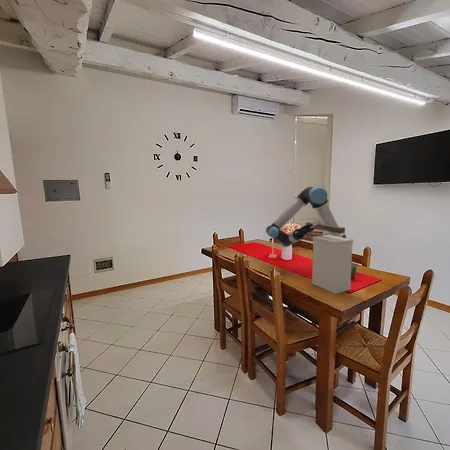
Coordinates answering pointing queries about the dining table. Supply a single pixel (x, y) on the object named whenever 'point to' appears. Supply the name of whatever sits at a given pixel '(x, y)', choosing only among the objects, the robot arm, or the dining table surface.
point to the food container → (353, 270)
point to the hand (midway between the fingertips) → (318, 222)
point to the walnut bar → (328, 228)
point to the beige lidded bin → (332, 263)
